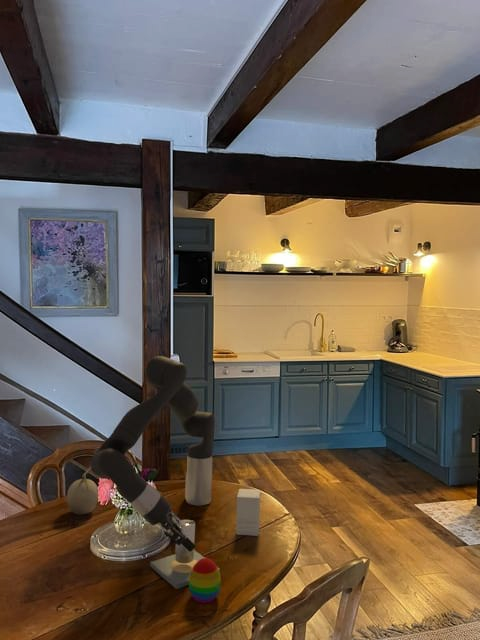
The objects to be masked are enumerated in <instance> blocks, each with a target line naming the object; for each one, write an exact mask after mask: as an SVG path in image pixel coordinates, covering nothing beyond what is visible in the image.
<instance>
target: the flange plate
mask: <svg viewBox="0 0 480 640" xmlns="http://www.w3.org/2000/svg"><path fill="white" fill-rule="evenodd" d="M203 558H205V557H204V556H203V555H202V554H201V553H199V552H197V551H196V550H195V549H194V560H193V561H192V562H190V563H179V562H177V561H176V560H175V554H172V555H168V556H165V557H163V558H159V559H157V560H153V561H150V567H151V569H152V570H154V571H155V572H156V573H157V574H158V575H160V577H161V578H163V579H164V580H165V581H167V583H169V584H170V585H171V586H172V587H173V588H174V589H175V590H179V589H181V588H184V587H186V586H189V577H190V573H191V570H192V568H193V567H194V565H195V564H196V563H197V562H198V561H199V560H200V559H203ZM217 568H218V570H219V573H220V574H221V569H220V568H219V567H218V566H217Z"/></svg>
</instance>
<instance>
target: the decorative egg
mask: <svg viewBox="0 0 480 640" xmlns="http://www.w3.org/2000/svg"><path fill="white" fill-rule="evenodd" d="M217 567H218V566H217V565H216V563H215V562H214V561H213V560H212V559H210V558H207V557H204V558H203V559H200V560H199V561H198V562H197V563H196V564H195V565H194V567H193V568H192V570H191V573H190V577H189V585H188V588H189V589H188V590H189V593H190V595H191V597H192V598H193V599H194V601H196V602H197V603H200V604H208V603H211V602H213V601H214V600H215V599H216V598H217V597H218V595H219V592H220V590H221V586H222V579H221V572H220V573H219V570H218V568H219V567H218V568H217Z"/></svg>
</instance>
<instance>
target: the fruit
mask: <svg viewBox="0 0 480 640" xmlns="http://www.w3.org/2000/svg"><path fill="white" fill-rule="evenodd" d="M90 470H92V469H91V466H90V467H89V468H88V469H87V470H86V471H85V472H84V473H83V474H82V476H81V477H82V478H80V479H77V480H74V482H72V483H71V484H70V485H69V487H68V490H67V494H66V504H67V507H68V509H69V511H71V512H72V513H73V514H75V515H86V514H89V513H91V512H92V511H93V510H95V507H96V506H97V504H98V501H99V498H98V492H99V488H98V485H97V484H96V482H94V481H93V480H92V479H89V478H87V476H86V475H87V474H88V473H89V471H90ZM97 490H98V491H97Z"/></svg>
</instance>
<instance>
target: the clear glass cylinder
mask: <svg viewBox="0 0 480 640" xmlns="http://www.w3.org/2000/svg"><path fill="white" fill-rule="evenodd" d="M177 523H178V524H179V525H180V527H181V528H182V532H183V533H184V534H185V535H186V537H188V538H189V539H190V540H191V541H192V542H193V543H194V544H195V541H196V539H195V538H196V522H195V520H191V519H180V521H178V522H177ZM176 530H178V528H177V529H176ZM178 538H179V539H180V538H181V537H178ZM194 550H195V548H194V549H193V550H192V551H191V552H189V551H188V550H187V549H186V548H185V547H184V546H183V545H182V544H180V545H177V544H176V543H175V550H174V552H175V560H176V561H177V562H179V563H190V562H192V561H193V560H194Z"/></svg>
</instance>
